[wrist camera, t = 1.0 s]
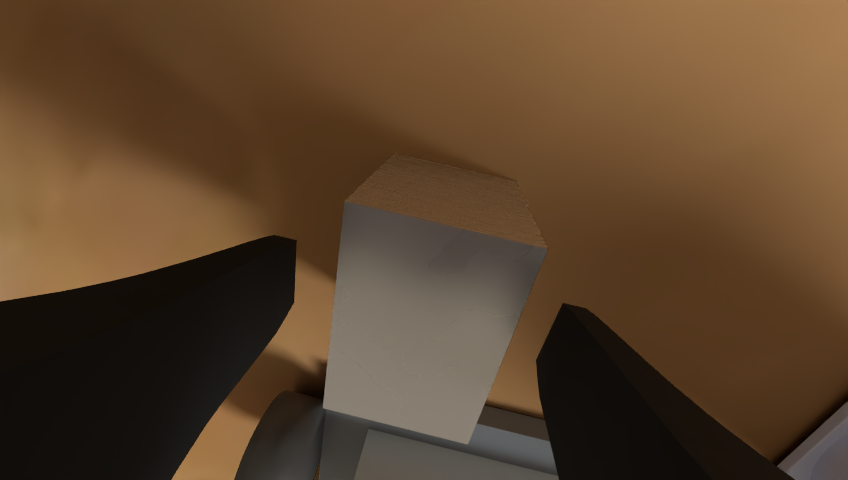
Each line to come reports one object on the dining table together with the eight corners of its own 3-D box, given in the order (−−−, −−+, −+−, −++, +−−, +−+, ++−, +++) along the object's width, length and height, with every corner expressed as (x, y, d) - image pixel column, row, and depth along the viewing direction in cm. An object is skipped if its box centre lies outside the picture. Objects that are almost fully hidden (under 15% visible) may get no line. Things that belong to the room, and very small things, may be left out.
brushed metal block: (516, 180, 11) (548, 248, 7) (468, 324, 14) (467, 444, 9) (395, 152, 11) (344, 201, 7) (371, 300, 14) (322, 407, 9)
